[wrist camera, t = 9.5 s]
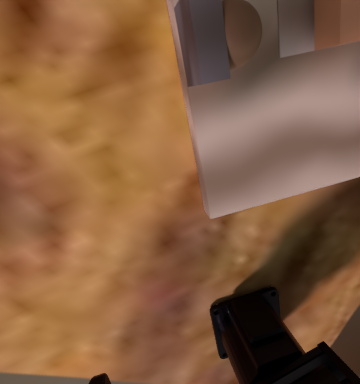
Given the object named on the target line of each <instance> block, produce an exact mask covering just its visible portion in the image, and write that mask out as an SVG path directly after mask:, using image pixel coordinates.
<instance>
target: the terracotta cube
mask: <svg viewBox="0 0 360 384" xmlns="http://www.w3.org/2000/svg"><path fill="white" fill-rule="evenodd" d="M314 37H315V50H320V49H324V48H329V47H334V46H338V45H343V44H347V43H352V42H356V41H360V0H314Z"/></svg>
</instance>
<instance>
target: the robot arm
mask: <svg viewBox="0 0 360 384" xmlns="http://www.w3.org/2000/svg"><path fill="white" fill-rule="evenodd" d="M272 292H273V293H272ZM215 311H216V312H215ZM210 316H211V320H212V325H213V330H214V335H215V340H216V344H217V349H218V354H219V356H220V358H221V359H226V358H229V360H230V362H231V365H232V367H233V370H234V372H235V375H236V377H237V380H238V382H239V384H360V378H359V377H358V376H357V375H356V374H355V373H354V372H353V371H352V370H351V369H350V368H349V367H348V366H347V365H346V364H345V363H344V362H343V361H342V360H341V359H340V357H338V356H337V355H336V353H335V352H334V351H333V350H332V349H331V348H330V347H329V346H328V345H327V344H326V343H325V342H324V341H323V342H321V343H319V344H318V345H317V347H315V348H314V349H312V350H310V351H309V352H307V353H305V352H304V350H303V349H302V347H301V346H300V345H299V343H298V342H297V340H296V339H295V338H294V336H293V335H292V333H291V332H290V331H289V329H288V328H287V326H286V325H285V324H284V322H283V321H282V320H281V318H280V308H279V295H278V291H277V289H276V288H275V287H269V288H266V289H263V290H260V291H257V292H254V293H251V294H247V295H244V296H241V297H238V298H235V299H232V300H229V301H226V302H223V303H220V304H217V305H214V306H212V307H211V308H210ZM89 384H111V382H110V380H109V378H108V376H107V374H106V373H103V374H100V375H97V376H94V377H93V378H92V379H91V380H90V382H89Z"/></svg>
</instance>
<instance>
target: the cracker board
mask: <svg viewBox="0 0 360 384" xmlns="http://www.w3.org/2000/svg"><path fill="white" fill-rule="evenodd" d="M166 1H167V6H168V12H169V17H170V23H171V28H172V34H173V39H174V45H175V50H176V56H177V61H178V67H179V72H180V78H181V83H182V89H183V94H184V100H185V105H186V111H187V116H188V122H189V127H190V133H191V138H192V144H193V149H194V155H195V160H196V166H197V171H198V177H199V182H200V188H201V193H202V199H203V204H204V210H205V212H206V213H207V215H208V216H209V217H210V219H213V218H216V217H220V216H223V215H227V214H230V213H234V212H237V211H241V210H245V209H248V208H252V207H255V206H259V205H262V204H266V203H269V202H273V201H276V200H280V199H283V198H287V197H290V196H294V195H298V194H301V193H305V192H308V191H312V190H315V189H319V188H322V187H326V186H329V185H333V184H336V183H340V182H343V181H347V180H351V179H354V178H358V177H360V41H356V42H352V43H347V44H343V45H338V46H334V47H329V48H324V49H320V50H315V37H314V0H166Z"/></svg>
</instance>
